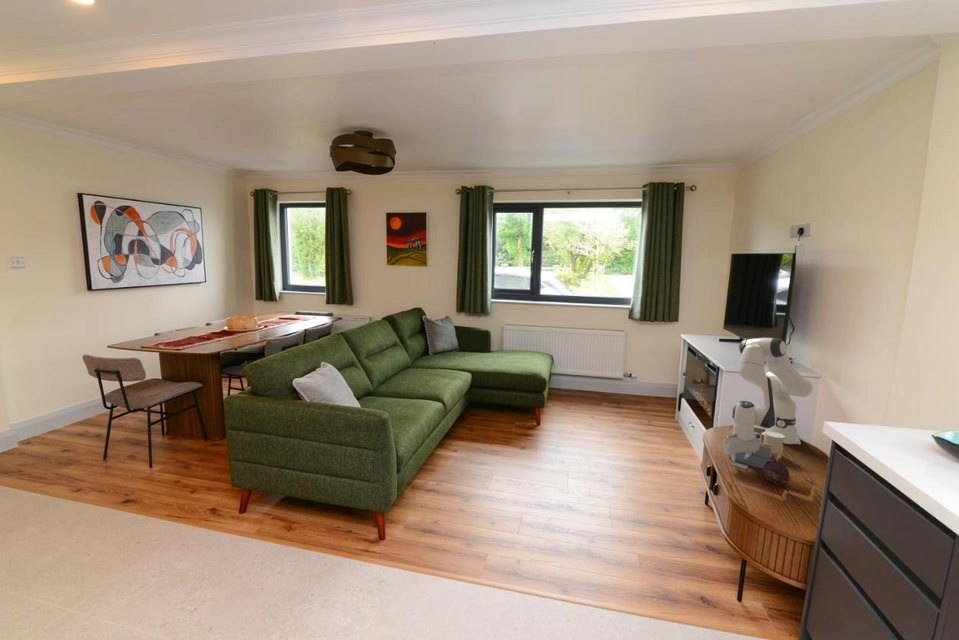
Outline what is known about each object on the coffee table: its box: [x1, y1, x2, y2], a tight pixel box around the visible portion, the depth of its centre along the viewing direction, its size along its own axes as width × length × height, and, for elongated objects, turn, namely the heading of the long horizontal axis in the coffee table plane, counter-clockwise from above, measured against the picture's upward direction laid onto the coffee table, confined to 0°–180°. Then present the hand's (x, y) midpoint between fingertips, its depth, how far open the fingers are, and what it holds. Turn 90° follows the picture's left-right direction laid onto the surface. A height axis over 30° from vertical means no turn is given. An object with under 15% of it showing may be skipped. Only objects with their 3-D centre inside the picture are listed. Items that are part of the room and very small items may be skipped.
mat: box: [730, 461, 750, 470], centre depth 213 cm, size 6×7×1 cm
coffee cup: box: [763, 431, 785, 459], centre depth 225 cm, size 9×9×12 cm
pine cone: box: [762, 460, 790, 486], centre depth 196 cm, size 18×10×10 cm, turn 159°
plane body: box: [728, 442, 779, 470], centre depth 216 cm, size 8×20×11 cm, turn 47°
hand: (740, 460), depth 212 cm, fingers open, 6 cm apart
